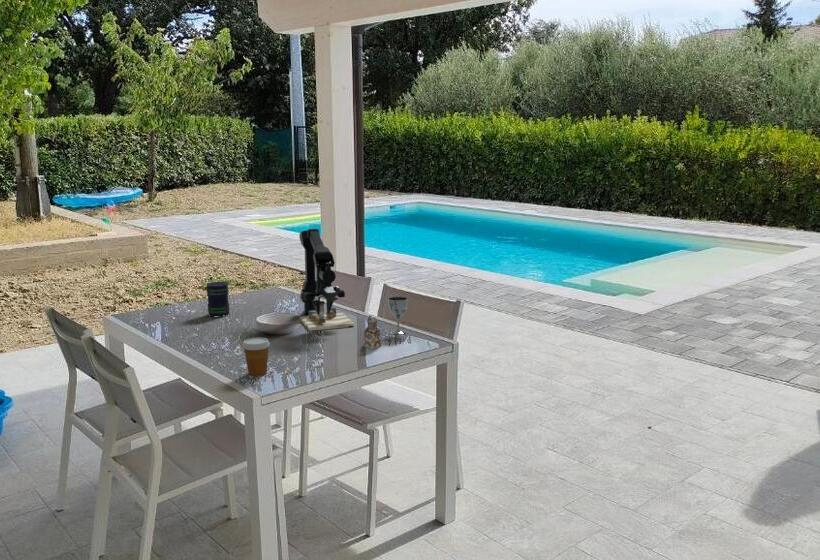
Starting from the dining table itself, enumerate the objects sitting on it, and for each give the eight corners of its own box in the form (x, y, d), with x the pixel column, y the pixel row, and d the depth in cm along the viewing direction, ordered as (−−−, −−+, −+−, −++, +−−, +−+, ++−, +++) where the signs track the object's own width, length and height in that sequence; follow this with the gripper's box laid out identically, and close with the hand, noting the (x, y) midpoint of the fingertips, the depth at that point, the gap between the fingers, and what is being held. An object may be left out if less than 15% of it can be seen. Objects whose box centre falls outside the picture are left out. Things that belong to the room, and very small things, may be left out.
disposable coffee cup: (238, 376, 267) (236, 343, 264) (253, 368, 275) (251, 336, 273) (262, 378, 263) (260, 345, 261) (276, 370, 272) (274, 338, 270)
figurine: (364, 348, 298) (363, 319, 296) (362, 344, 305) (361, 315, 303) (382, 347, 299) (381, 318, 297) (379, 342, 306) (379, 314, 304)
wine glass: (408, 330, 325) (408, 296, 322) (406, 335, 317) (406, 300, 314) (390, 330, 325) (389, 296, 323) (387, 335, 318) (387, 300, 315)
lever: (307, 316, 343) (306, 295, 341) (315, 315, 344) (314, 294, 342) (318, 324, 328) (318, 302, 326) (326, 324, 330) (326, 301, 328)
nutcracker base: (300, 320, 344) (299, 308, 343) (342, 316, 351) (342, 304, 350) (309, 330, 326) (308, 318, 325) (354, 326, 332) (353, 314, 331)
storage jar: (211, 318, 349) (209, 286, 346) (205, 314, 358) (203, 283, 355) (232, 315, 354) (230, 284, 351) (226, 311, 362) (224, 280, 360)
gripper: (311, 284, 316) (311, 320, 319) (351, 280, 326) (350, 315, 328) (300, 279, 325) (300, 315, 328) (339, 276, 335) (339, 310, 338)
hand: (323, 314), depth 330 cm, fingers open, 4 cm apart
